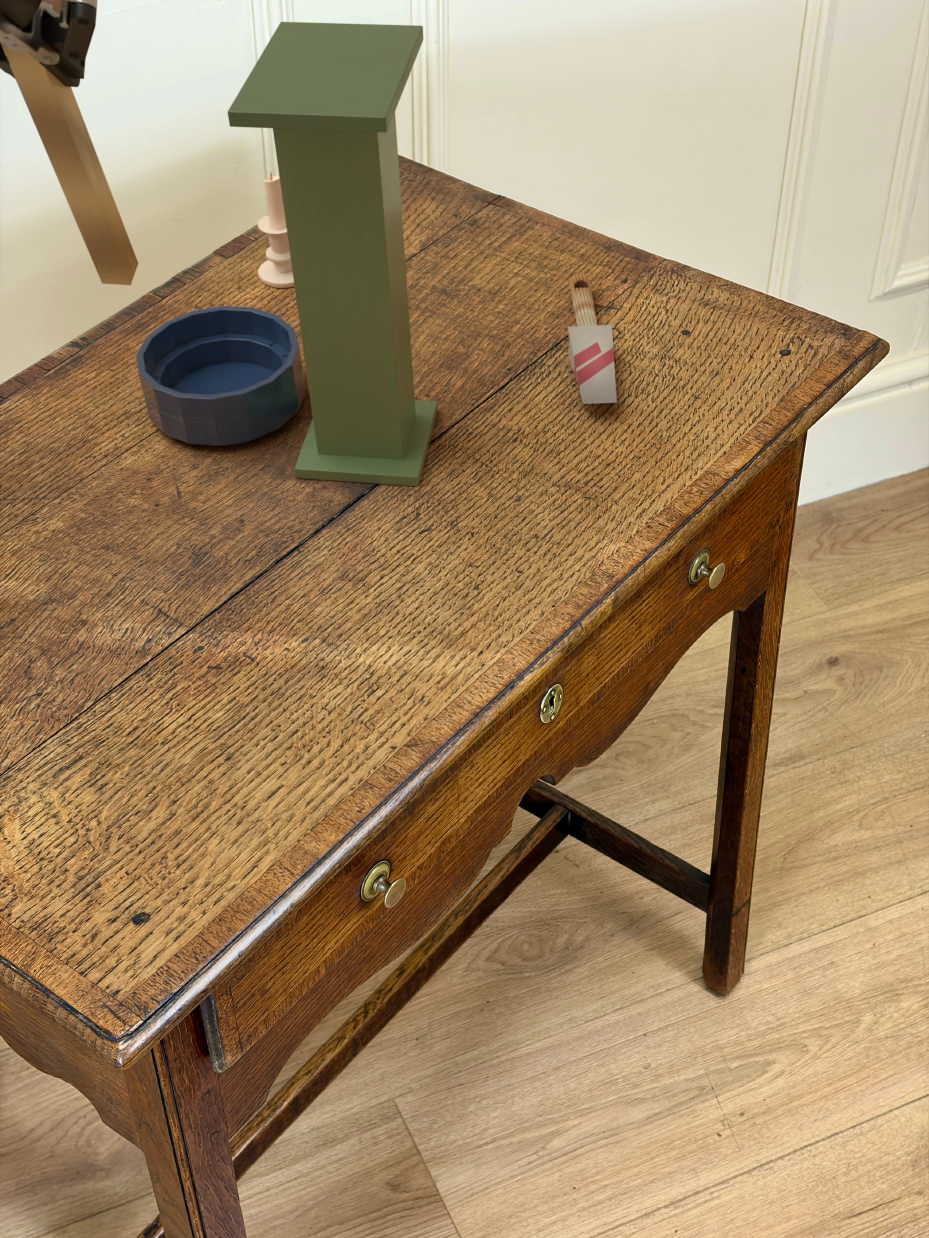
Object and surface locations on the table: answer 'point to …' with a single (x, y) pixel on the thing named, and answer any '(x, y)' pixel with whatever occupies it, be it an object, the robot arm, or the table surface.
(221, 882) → the table surface
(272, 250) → the candle
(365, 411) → the stand
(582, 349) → the paintbrush
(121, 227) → the stick
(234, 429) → the bowl
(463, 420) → the table surface
